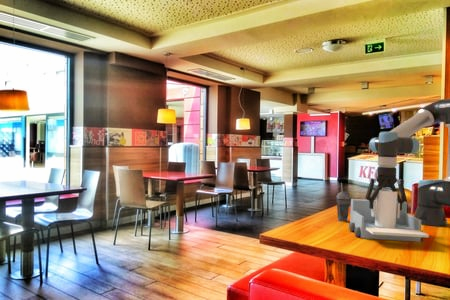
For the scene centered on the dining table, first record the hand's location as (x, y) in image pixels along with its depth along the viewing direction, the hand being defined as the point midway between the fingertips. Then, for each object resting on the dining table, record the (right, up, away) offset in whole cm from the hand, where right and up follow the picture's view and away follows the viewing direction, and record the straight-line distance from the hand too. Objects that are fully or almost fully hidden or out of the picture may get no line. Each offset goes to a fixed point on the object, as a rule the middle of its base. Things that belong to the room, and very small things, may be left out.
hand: (385, 216), depth 146 cm
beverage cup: (-9, -8, +27) cm, 30 cm away
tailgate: (-1, -4, -8) cm, 9 cm away
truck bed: (0, -8, +2) cm, 9 cm away
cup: (0, -4, 0) cm, 4 cm away
